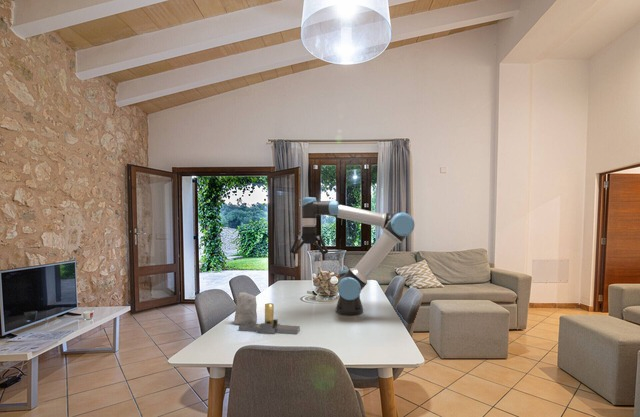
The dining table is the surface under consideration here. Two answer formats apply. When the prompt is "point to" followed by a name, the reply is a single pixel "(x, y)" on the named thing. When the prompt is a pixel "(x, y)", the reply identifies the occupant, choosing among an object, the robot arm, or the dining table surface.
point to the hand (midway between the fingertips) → (309, 266)
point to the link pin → (269, 313)
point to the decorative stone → (245, 309)
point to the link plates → (269, 328)
